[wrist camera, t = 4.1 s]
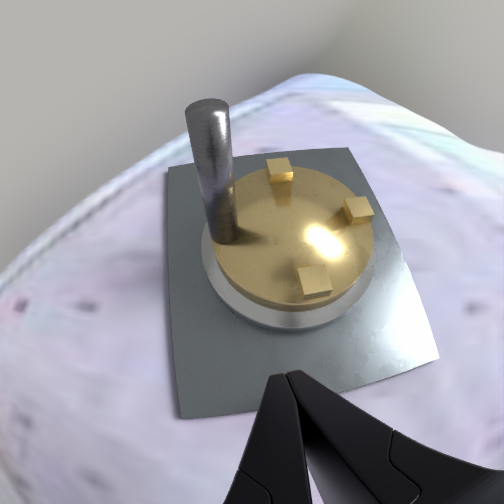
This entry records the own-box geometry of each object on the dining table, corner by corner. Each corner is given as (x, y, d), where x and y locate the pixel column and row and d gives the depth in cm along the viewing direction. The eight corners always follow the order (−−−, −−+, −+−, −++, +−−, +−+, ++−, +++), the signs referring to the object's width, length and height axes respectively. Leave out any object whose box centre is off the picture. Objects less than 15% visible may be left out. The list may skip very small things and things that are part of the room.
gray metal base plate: (435, 359, 19) (448, 353, 18) (183, 419, 18) (176, 419, 16) (346, 151, 32) (350, 138, 30) (169, 171, 30) (165, 157, 28)
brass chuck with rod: (348, 333, 19) (440, 234, 9) (187, 279, 21) (132, 150, 11) (373, 205, 25) (419, 89, 14) (246, 169, 27) (242, 48, 17)
